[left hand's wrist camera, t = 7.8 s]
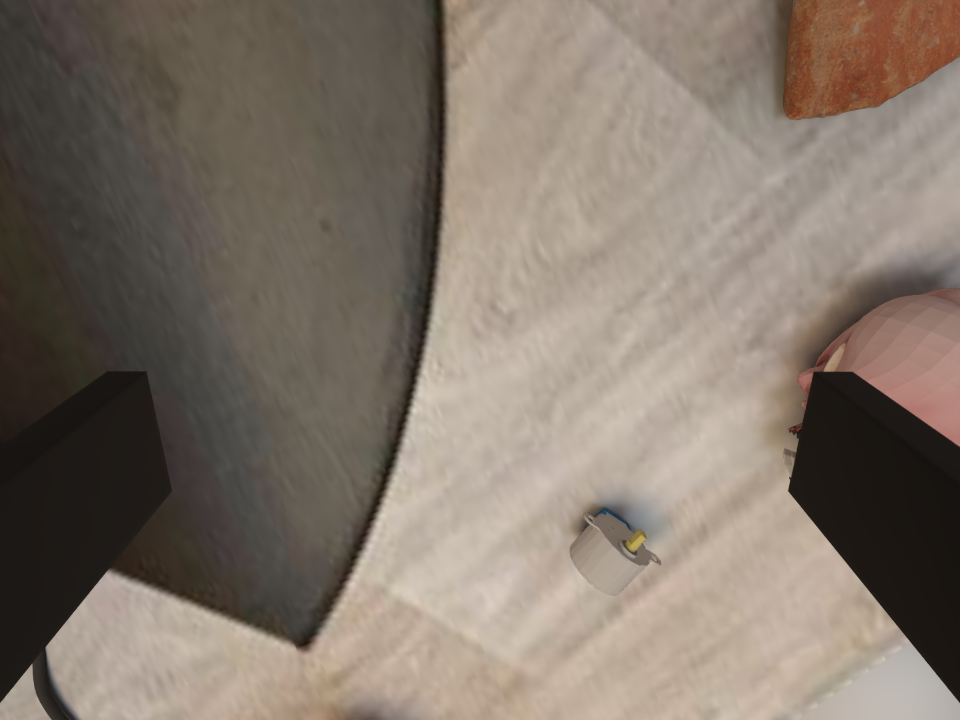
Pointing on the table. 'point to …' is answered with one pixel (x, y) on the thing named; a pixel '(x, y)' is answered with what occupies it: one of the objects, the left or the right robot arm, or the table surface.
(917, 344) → the toy
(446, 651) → the table surface
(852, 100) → the ceramic shard
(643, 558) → the electric motor
